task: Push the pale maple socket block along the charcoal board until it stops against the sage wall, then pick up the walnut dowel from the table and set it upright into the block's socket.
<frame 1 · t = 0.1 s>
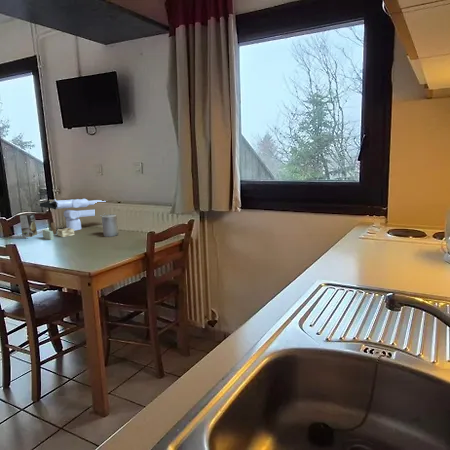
hand: (42, 205, 277), 22 cm above the table, tool horizontal, fingers open, 7 cm apart
pillar candle: (110, 235, 277), on the table
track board: (61, 237, 275), on the table
dowel: (54, 235, 284), on the table
socket block: (65, 232, 277), point 3 cm above the table, slide at 0.0 cm
coffee box: (30, 237, 281), on the table
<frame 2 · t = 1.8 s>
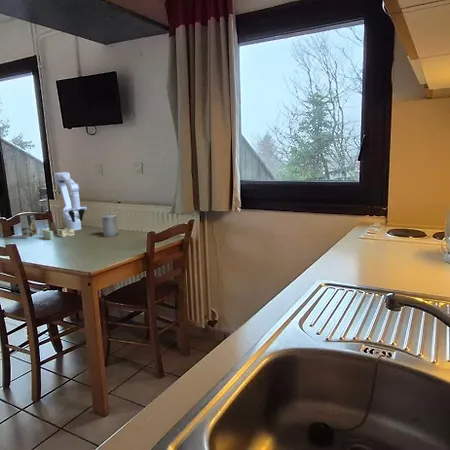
hand: (77, 221, 282), 9 cm above the table, tool pointing down, fingers open, 5 cm apart
nothing on the table moved.
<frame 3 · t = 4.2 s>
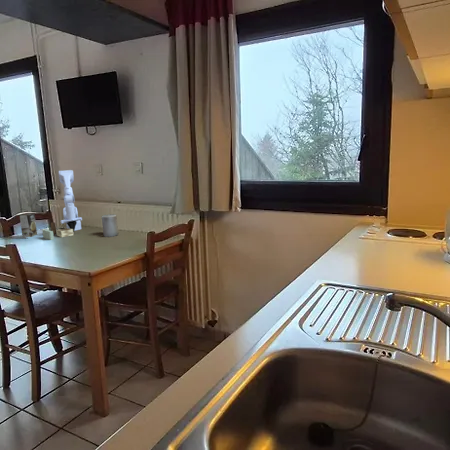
hand: (72, 232, 281), 2 cm above the table, tool pointing down, fingers closed
socket block: (64, 232, 277), point 3 cm above the table, slide at 0.7 cm, touching gripper
everything else where it was.
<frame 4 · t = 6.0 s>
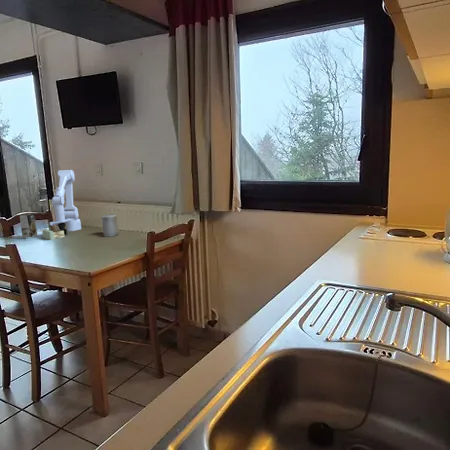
hand: (62, 234, 276), 2 cm above the table, tool pointing down, fingers closed, pressing on socket block
socket block: (55, 234, 272), point 3 cm above the table, slide at 7.0 cm, touching gripper, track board
everything else where it was.
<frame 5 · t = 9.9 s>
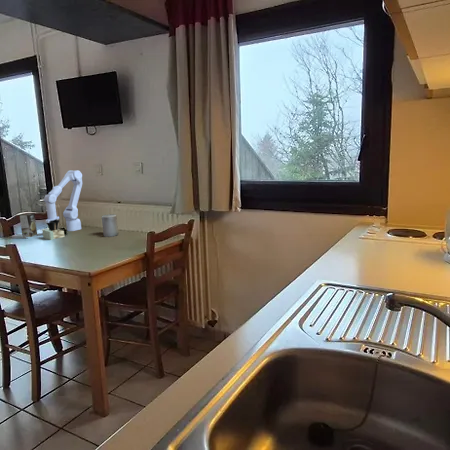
hand: (54, 231, 283), 3 cm above the table, tool pointing down, fingers closed on dowel, 3 cm apart
dowel: (54, 235, 284), on the table, touching gripper
socket block: (55, 234, 272), point 3 cm above the table, slide at 7.0 cm, touching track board
everything else where it was.
when the fingers open (6 cm above the table, at t = 13.8 s): dowel stays where it is, resting on socket block.
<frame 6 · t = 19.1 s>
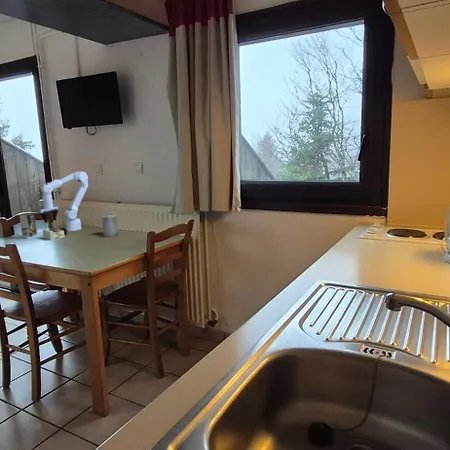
hand: (50, 221, 285), 9 cm above the table, tool pointing down, fingers open, 7 cm apart
dowel: (55, 235, 272), point 2 cm above the table, touching socket block
socket block: (55, 234, 272), point 3 cm above the table, slide at 7.0 cm, touching dowel
everything else where it was.
at the end: socket block slide at 7.0 cm; dowel 0.1 cm from the target spot, point 2.2 cm above the table; dowel tilted 3° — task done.
